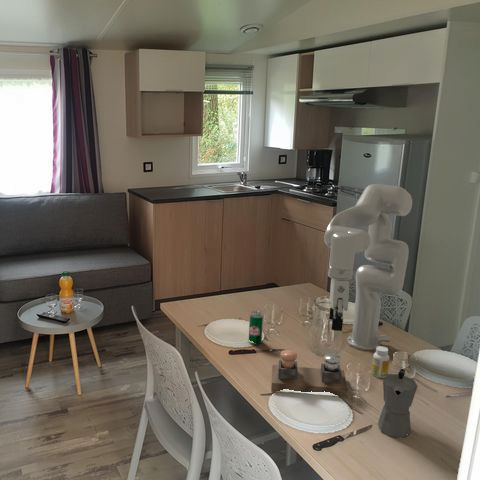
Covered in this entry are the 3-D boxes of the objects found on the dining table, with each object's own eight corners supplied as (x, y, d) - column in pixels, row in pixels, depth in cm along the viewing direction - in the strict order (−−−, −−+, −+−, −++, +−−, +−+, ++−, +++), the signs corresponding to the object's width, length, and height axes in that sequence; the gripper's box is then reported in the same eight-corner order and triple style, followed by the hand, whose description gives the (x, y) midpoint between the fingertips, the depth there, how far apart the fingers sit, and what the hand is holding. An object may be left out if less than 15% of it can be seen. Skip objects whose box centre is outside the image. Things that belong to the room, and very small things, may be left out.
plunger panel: (342, 378, 181) (344, 361, 179) (347, 397, 170) (348, 378, 168) (272, 372, 183) (273, 355, 181) (271, 391, 171) (272, 372, 169)
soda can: (246, 343, 204) (248, 314, 201) (251, 338, 208) (252, 309, 205) (259, 345, 202) (261, 316, 199) (263, 340, 207) (265, 311, 204)
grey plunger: (338, 367, 176) (339, 353, 175) (339, 375, 171) (341, 361, 170) (322, 365, 177) (323, 352, 176) (323, 373, 172) (324, 360, 171)
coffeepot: (408, 446, 147) (417, 387, 142) (373, 437, 150) (381, 379, 145) (413, 416, 161) (420, 362, 156) (381, 409, 164) (387, 355, 159)
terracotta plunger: (295, 363, 177) (296, 350, 176) (296, 371, 172) (297, 358, 171) (280, 362, 178) (281, 349, 177) (280, 370, 173) (280, 356, 172)
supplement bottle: (387, 372, 187) (390, 346, 184) (387, 379, 182) (390, 353, 179) (371, 369, 188) (374, 344, 186) (370, 376, 183) (374, 350, 181)
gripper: (356, 282, 157) (350, 337, 161) (349, 264, 174) (344, 315, 178) (330, 280, 157) (325, 335, 162) (326, 263, 174) (321, 313, 179)
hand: (335, 324), depth 170 cm, fingers open, 7 cm apart
